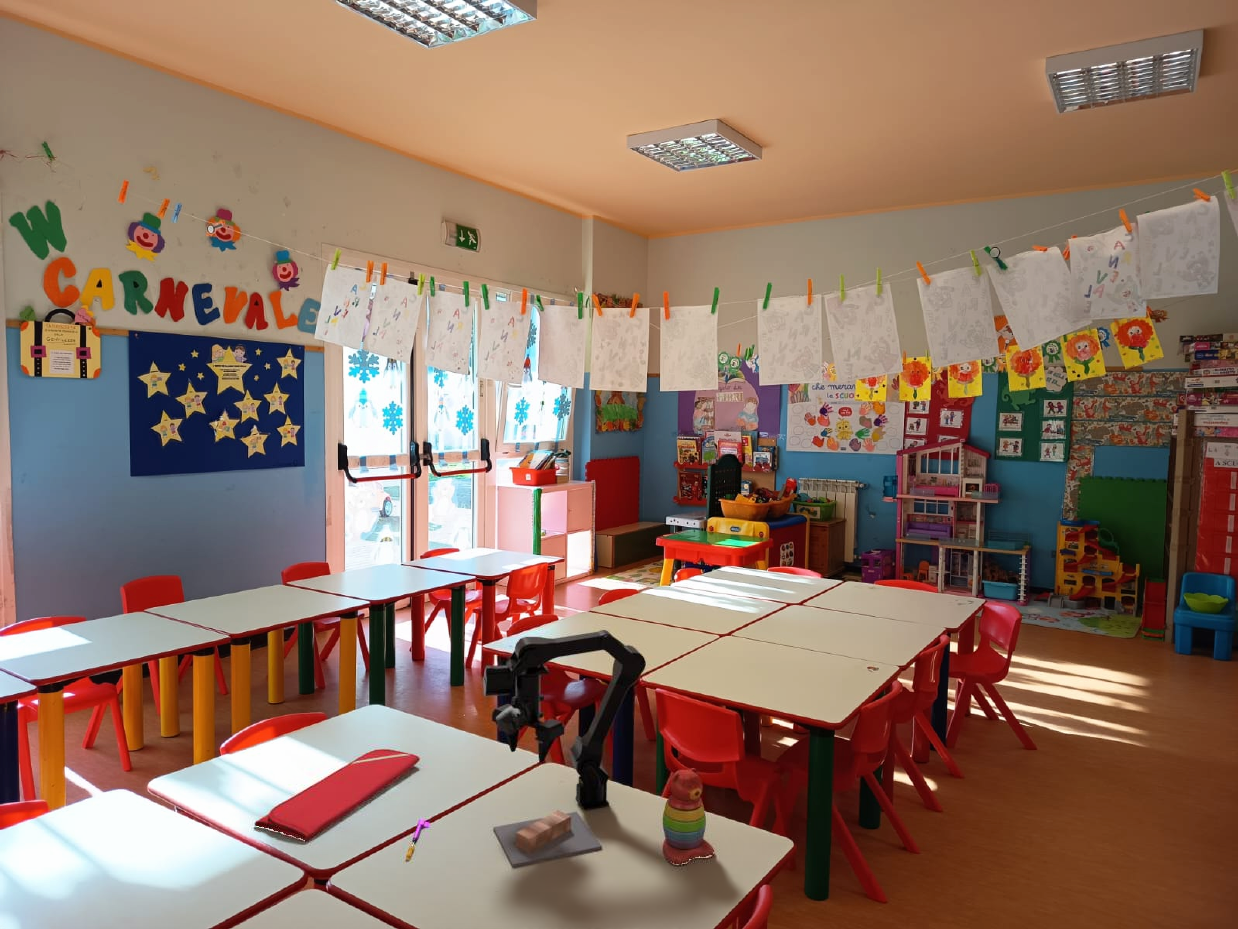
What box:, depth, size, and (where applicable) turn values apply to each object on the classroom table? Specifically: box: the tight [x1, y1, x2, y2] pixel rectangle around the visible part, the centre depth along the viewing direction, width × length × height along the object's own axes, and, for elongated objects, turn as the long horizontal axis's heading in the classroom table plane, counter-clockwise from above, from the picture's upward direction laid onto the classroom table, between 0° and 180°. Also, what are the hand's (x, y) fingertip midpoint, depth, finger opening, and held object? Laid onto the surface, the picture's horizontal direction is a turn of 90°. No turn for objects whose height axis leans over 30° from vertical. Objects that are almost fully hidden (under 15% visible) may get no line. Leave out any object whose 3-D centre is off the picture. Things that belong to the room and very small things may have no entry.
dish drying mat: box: [254, 748, 421, 842], centre depth 201 cm, size 16×41×4 cm, turn 157°
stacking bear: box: [662, 767, 715, 865], centre depth 179 cm, size 11×10×18 cm
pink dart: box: [405, 818, 431, 861], centre depth 181 cm, size 3×1×16 cm
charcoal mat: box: [493, 811, 603, 868], centre depth 183 cm, size 20×16×1 cm
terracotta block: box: [516, 810, 571, 852], centre depth 183 cm, size 3×4×13 cm
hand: (527, 757), depth 195 cm, fingers open, 9 cm apart
